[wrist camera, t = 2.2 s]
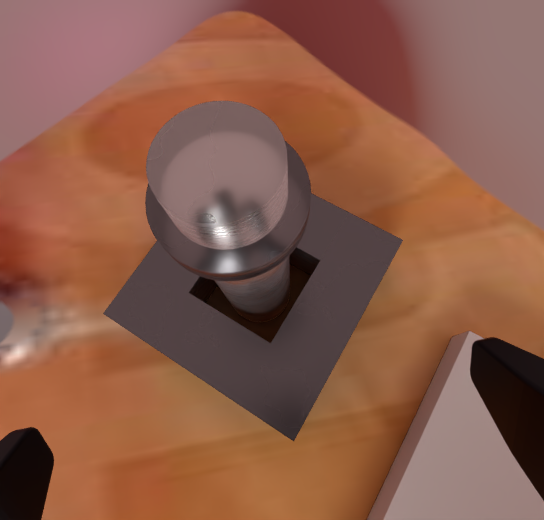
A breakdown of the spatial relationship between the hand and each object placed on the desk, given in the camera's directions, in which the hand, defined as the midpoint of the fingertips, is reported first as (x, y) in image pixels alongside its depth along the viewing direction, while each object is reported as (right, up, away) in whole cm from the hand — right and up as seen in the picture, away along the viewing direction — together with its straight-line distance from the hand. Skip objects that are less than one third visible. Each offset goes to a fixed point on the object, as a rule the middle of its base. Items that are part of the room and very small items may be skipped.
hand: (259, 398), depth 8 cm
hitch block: (0, +1, +13) cm, 13 cm away
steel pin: (0, +1, +13) cm, 13 cm away
